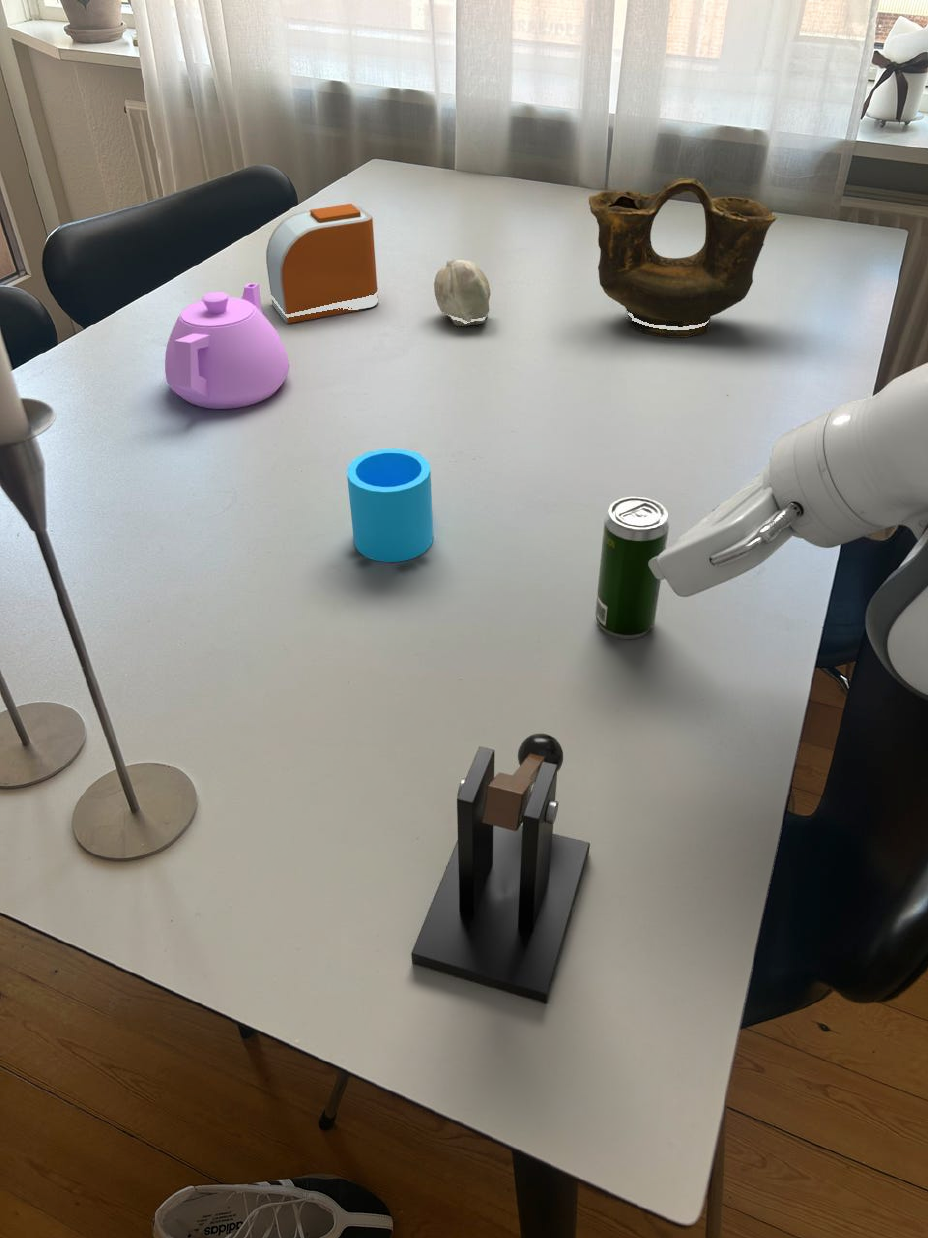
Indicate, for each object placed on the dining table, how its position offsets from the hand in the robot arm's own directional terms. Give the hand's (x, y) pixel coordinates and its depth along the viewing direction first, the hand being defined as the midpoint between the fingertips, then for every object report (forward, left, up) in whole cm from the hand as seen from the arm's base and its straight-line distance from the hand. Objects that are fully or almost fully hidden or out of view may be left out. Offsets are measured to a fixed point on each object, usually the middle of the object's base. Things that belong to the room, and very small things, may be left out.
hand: (689, 541), depth 78 cm
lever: (+7, +26, -4) cm, 28 cm away
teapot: (+63, -34, -12) cm, 72 cm away
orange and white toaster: (+62, -62, -12) cm, 89 cm away
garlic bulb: (+40, -63, -12) cm, 76 cm away
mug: (+30, -10, -12) cm, 33 cm away
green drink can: (+5, -2, -12) cm, 13 cm away
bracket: (+7, +30, -11) cm, 33 cm away
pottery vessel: (+12, -70, -12) cm, 72 cm away
